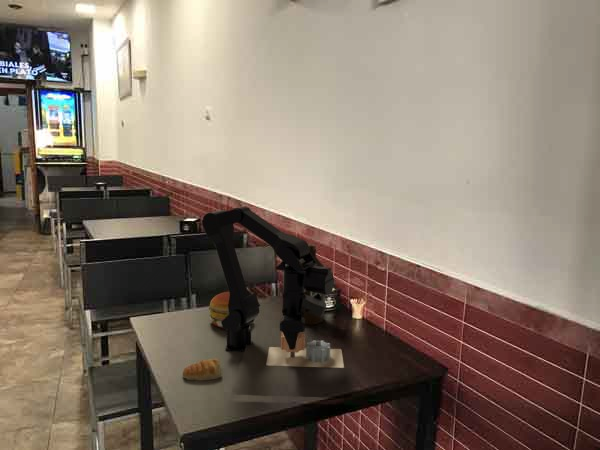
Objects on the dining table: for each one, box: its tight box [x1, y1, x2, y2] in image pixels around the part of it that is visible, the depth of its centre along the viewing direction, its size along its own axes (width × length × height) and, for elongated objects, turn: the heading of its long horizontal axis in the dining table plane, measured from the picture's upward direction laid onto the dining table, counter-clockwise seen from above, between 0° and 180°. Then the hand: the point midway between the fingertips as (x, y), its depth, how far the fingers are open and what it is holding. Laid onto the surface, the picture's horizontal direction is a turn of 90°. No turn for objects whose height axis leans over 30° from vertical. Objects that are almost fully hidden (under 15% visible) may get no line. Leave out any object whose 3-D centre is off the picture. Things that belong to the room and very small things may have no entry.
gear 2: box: [305, 340, 331, 363], centre depth 133 cm, size 6×6×4 cm
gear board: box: [266, 346, 345, 369], centre depth 133 cm, size 20×11×6 cm, turn 89°
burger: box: [208, 291, 230, 329], centre depth 157 cm, size 14×14×10 cm
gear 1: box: [280, 331, 306, 353], centre depth 132 cm, size 6×6×4 cm
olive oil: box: [300, 243, 326, 326], centre depth 161 cm, size 11×11×25 cm
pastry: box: [182, 357, 223, 382], centre depth 124 cm, size 9×7×4 cm
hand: (292, 343), depth 132 cm, fingers closed on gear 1, 6 cm apart
